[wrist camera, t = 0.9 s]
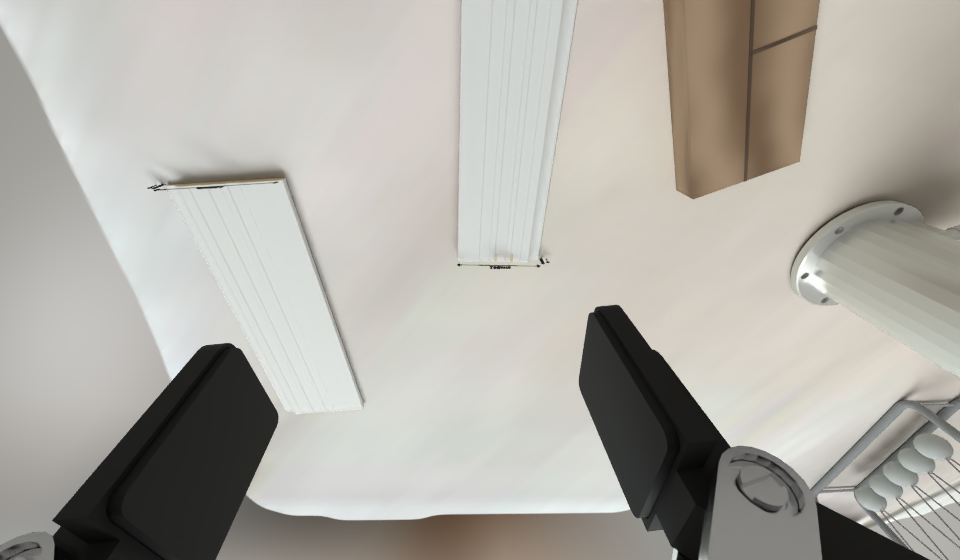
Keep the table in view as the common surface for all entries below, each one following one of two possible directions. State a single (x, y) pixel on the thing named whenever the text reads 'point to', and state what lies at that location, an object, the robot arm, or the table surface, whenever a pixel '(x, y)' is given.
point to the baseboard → (509, 123)
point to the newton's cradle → (900, 464)
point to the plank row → (737, 87)
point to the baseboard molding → (271, 287)
